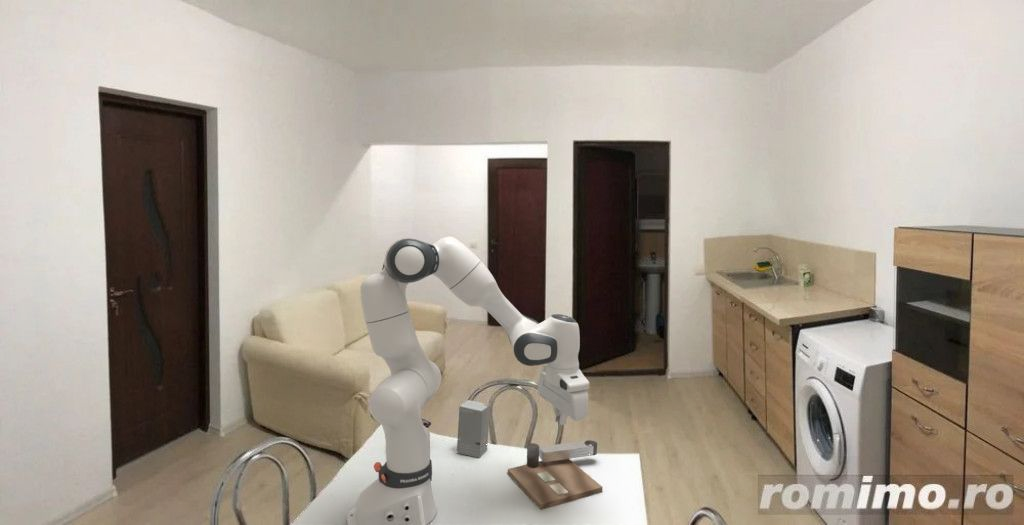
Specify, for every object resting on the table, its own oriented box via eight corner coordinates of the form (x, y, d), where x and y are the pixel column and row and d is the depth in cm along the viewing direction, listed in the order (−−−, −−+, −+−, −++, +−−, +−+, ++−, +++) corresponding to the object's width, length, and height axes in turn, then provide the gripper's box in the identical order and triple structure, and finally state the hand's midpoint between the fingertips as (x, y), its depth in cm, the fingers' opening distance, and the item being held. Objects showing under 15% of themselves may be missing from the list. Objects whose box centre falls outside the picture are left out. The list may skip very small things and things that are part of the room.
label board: (540, 509, 143) (541, 483, 142) (506, 472, 161) (506, 448, 160) (602, 491, 152) (603, 466, 151) (563, 458, 170) (563, 436, 169)
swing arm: (543, 462, 162) (543, 452, 161) (538, 455, 166) (539, 446, 165) (599, 454, 167) (599, 445, 167) (593, 448, 171) (593, 439, 170)
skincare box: (456, 453, 172) (456, 406, 170) (466, 444, 179) (466, 398, 177) (480, 459, 169) (480, 411, 167) (489, 449, 176) (490, 402, 174)
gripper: (533, 364, 153) (532, 410, 155) (572, 388, 135) (570, 440, 137) (552, 361, 156) (551, 407, 158) (593, 385, 138) (591, 436, 140)
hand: (560, 423), depth 147 cm, fingers closed
